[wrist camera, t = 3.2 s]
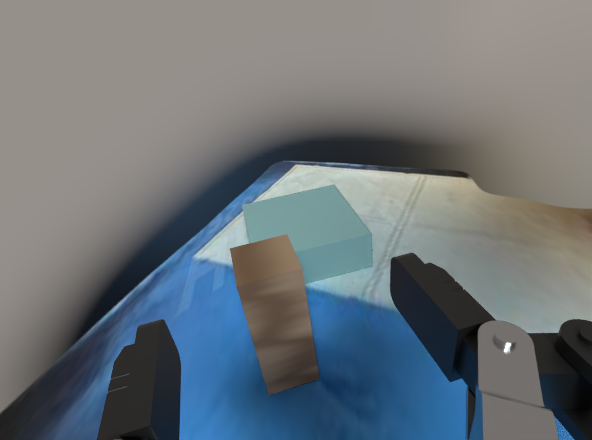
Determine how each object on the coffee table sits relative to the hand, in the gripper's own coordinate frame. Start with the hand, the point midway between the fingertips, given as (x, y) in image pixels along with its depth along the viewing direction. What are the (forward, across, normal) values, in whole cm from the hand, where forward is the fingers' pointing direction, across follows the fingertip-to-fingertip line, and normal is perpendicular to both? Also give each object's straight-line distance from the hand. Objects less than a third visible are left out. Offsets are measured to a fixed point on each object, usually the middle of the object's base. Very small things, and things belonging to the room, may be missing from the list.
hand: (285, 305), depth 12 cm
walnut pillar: (+12, 0, +18) cm, 21 cm away
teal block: (+27, -6, +18) cm, 33 cm away
